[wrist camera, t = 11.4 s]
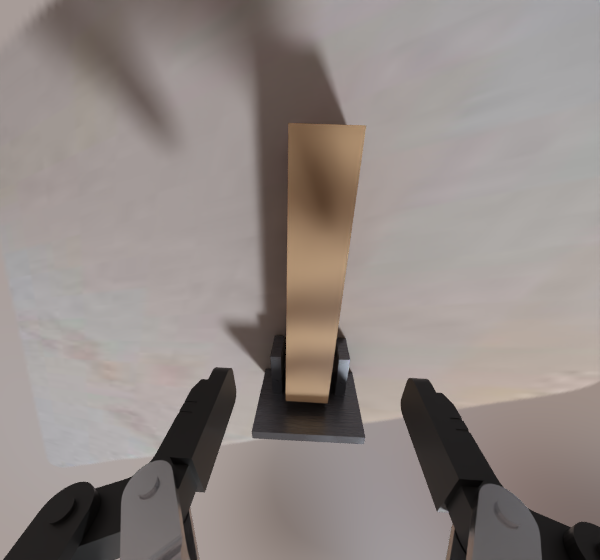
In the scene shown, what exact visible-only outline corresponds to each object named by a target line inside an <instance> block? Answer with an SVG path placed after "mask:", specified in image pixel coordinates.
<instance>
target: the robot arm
mask: <svg viewBox="0 0 600 560" xmlns="http://www.w3.org/2000/svg"><path fill="white" fill-rule="evenodd" d="M235 399H236V386H235V380H234V375H233V370H232V368H218V367H216V368H214V369H213V371H212V373H211V375H210V377H209V379H208V380H205V379H201V380H200V381H199V382H198V383H197V384H196V385H195V386H194V387H193V388H192V389H191V391H190V393H189V395H188V397H187V398H186V400H185V403H184V404H183V406H182V407H181V409H180V412H179V414H178V415H177V417H176V418H175V420H174V422H173V424H172V426H171V427H170V429H169V431H168V433H167V435H166V437H165V438H164V440H163V442H162V444H161V446H160V447H159V449H158V451H157V453H156V454H155V456H154V457H153V459H152V460H151V461H150V462H149V463H148V464H146V465H145V466H144V467H142V468H141V469H139V470H138V471H137V472H136V473H135V474H134V475H133V476H132V477H130V478H128V479H125V480H122V481H119V482H115V483H112V484H109V485H105V486H102V487H99V488H94V487H93V486H92V485H91V484H90V483H88V482H78V483H75V484H72V485H70V486H68V487H67V488H65V489H63V490H61V491H60V492H59V493H57V494H56V495H55V496H54V497H53V498H51V499H50V500H49V501H48V502H47V503H46V504H45V505H44V507H43V508H42V509H41V510H40V511H39V513H38V514H37V515H36V517H35V518H34V519H33V521H32V522H31V523H30V525H29V526H28V527H27V529H26V530H25V532H24V533H23V534H22V535H21V537H20V538H19V539H18V541H17V542H16V544H15V545H14V546H13V547H12V549H11V550H10V551H9V553H8V554H7V555H6V557H5V558H4V559H3V560H115V559H118V558H120V560H199V554H198V548H197V542H196V537H195V531H194V525H193V520H192V515H191V509H190V506H191V503H192V500H193V497H194V495H195V492H205V490H206V487H207V484H208V481H209V478H210V475H211V472H212V469H213V466H214V463H215V460H216V457H217V454H218V451H219V448H220V445H221V442H222V439H223V437H224V434H225V431H226V428H227V425H228V422H229V419H230V416H231V413H232V410H233V407H234V403H235ZM401 411H402V415H403V418H404V420H405V423H406V426H407V429H408V431H409V434H410V437H411V440H412V443H413V445H414V448H415V451H416V454H417V457H418V460H419V462H420V465H421V468H422V471H423V474H424V476H425V479H426V482H427V485H428V488H429V490H430V493H431V496H432V499H433V502H434V504H435V507H436V510H437V512H447V513H449V515H450V517H451V520H452V523H453V524H452V527H451V532H450V538H449V545H448V550H447V555H446V560H600V527H598V526H596V525H594V524H591V523H587V522H579V523H577V524H575V525H574V526H573V527H569V526H566V525H564V524H562V523H559V522H557V521H555V520H552V519H550V518H548V517H545V516H543V515H540V514H538V513H536V512H534V511H532V510H530V509H528V508H527V507H526V506H525V505H524V504H523V503H522V502H521V500H520V499H518V498H517V497H516V496H515V495H514V494H513V493H511V492H510V491H508V490H507V489H505V488H504V487H503V486H502V485H501V484H500V482H499V481H498V479H497V478H496V476H495V474H494V473H493V471H492V469H491V467H490V466H489V464H488V462H487V461H486V459H485V457H484V456H483V454H482V452H481V450H480V449H479V447H478V445H477V443H476V442H475V440H474V438H473V437H472V435H471V433H469V431H468V428H467V426H466V425H465V423H464V421H462V418H461V416H460V415H459V413H458V411H457V409H456V408H455V406H454V405H453V404H452V403H451V402H450V401H449V400H448V399H447V398H446V397H445V396H444V395H443V394H442V393H436V392H435V390H434V388H433V386H432V384H431V383H430V381H429V380H428V379H417V378H409V379H408V380H407V383H406V386H405V389H404V392H403V395H402V398H401Z"/></svg>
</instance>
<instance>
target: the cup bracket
mask: <svg viewBox="0 0 600 560" xmlns="http://www.w3.org/2000/svg"><path fill="white" fill-rule="evenodd" d="M270 359H271V369H266V371H265V375H264V380H263V384H262V389H261V393H260V397H259V402H258V406H257V411H256V415H255V420H254V424H253V429H252V437H253V438H259V439H277V440H296V441H315V442H334V443H353V444H364V441H365V434H364V429H363V424H362V419H361V414H360V409H359V404H358V399H357V394H356V389H355V384H354V379H353V375H352V372H348V370H349V364H350V357H349V353H348V348H347V343H346V338H337V339H336V346H335V353H334V362H333V372H332V375H331V382H330V389H329V397H328V403H313V402H297V401H286V370H285V345H284V336H275V338H274V342H273V347H272V351H271V356H270Z"/></svg>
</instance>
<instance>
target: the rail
mask: <svg viewBox="0 0 600 560" xmlns="http://www.w3.org/2000/svg"><path fill="white" fill-rule="evenodd" d="M365 130H366V126H363V125H334V124H306V123H288V215H287V314H286V401H297V402H313V403H328V397H329V389H330V382H331V375H332V368H333V360H334V353H335V346H336V339H337V332H338V324H339V317H340V310H341V303H342V296H343V288H344V281H345V274H346V267H347V260H348V252H349V245H350V238H351V231H352V223H353V216H354V209H355V202H356V195H357V187H358V180H359V173H360V166H361V159H362V151H363V144H364V137H365Z"/></svg>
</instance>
